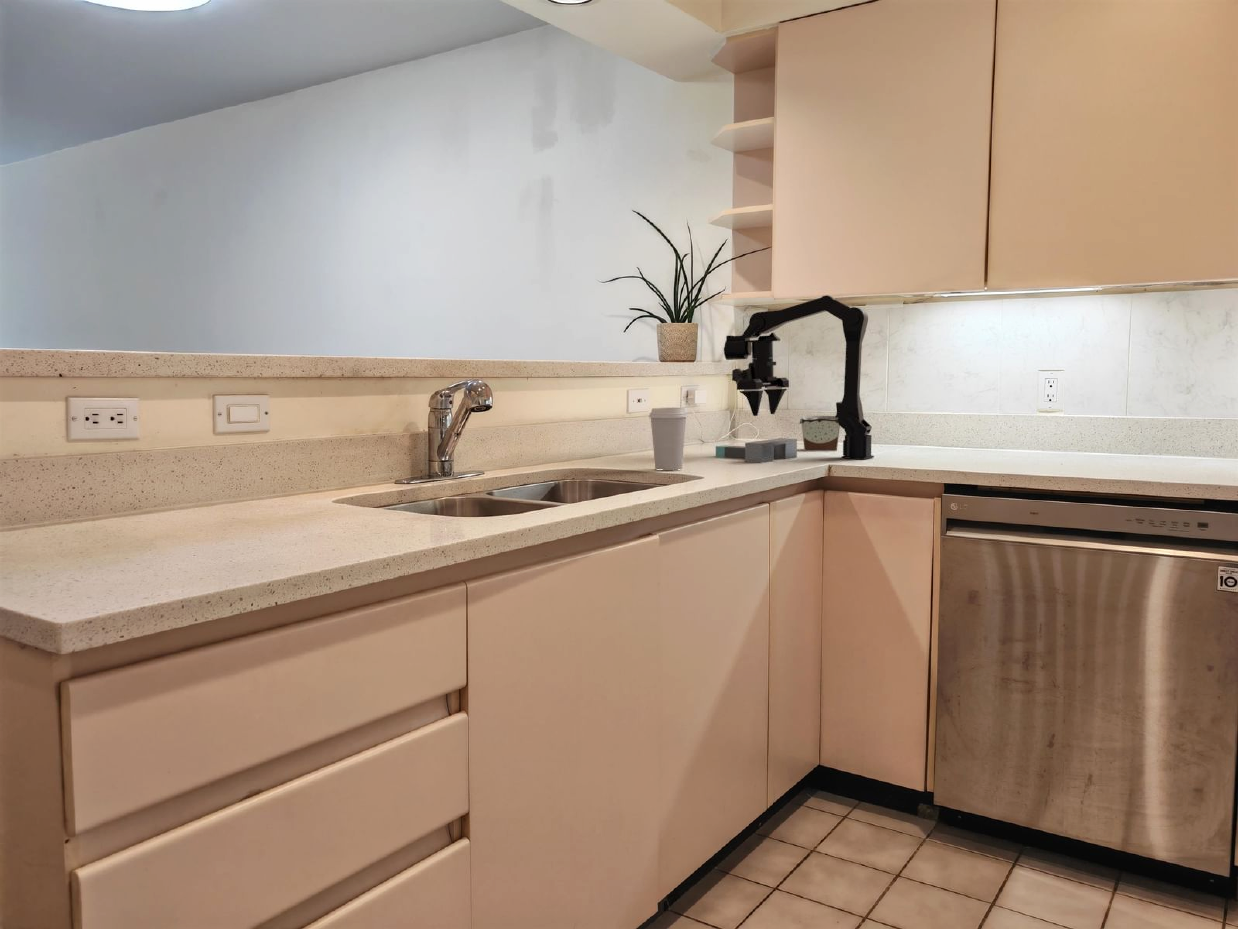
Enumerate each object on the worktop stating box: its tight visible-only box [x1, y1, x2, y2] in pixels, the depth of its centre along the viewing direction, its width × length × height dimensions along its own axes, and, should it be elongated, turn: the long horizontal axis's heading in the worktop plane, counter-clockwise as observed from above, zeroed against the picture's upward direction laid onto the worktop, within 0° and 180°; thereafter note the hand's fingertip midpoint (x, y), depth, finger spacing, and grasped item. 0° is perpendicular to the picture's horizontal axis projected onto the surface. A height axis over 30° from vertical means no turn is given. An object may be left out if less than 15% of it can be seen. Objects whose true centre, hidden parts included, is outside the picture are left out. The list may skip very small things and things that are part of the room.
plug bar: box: [715, 444, 745, 460], centre depth 248 cm, size 13×4×3 cm, turn 48°
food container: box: [798, 415, 841, 452], centre depth 266 cm, size 12×6×10 cm, turn 84°
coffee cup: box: [648, 407, 689, 471], centre depth 221 cm, size 10×10×15 cm
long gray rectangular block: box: [744, 437, 798, 463], centre depth 242 cm, size 5×18×5 cm, turn 139°
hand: (764, 414), depth 251 cm, fingers open, 9 cm apart
